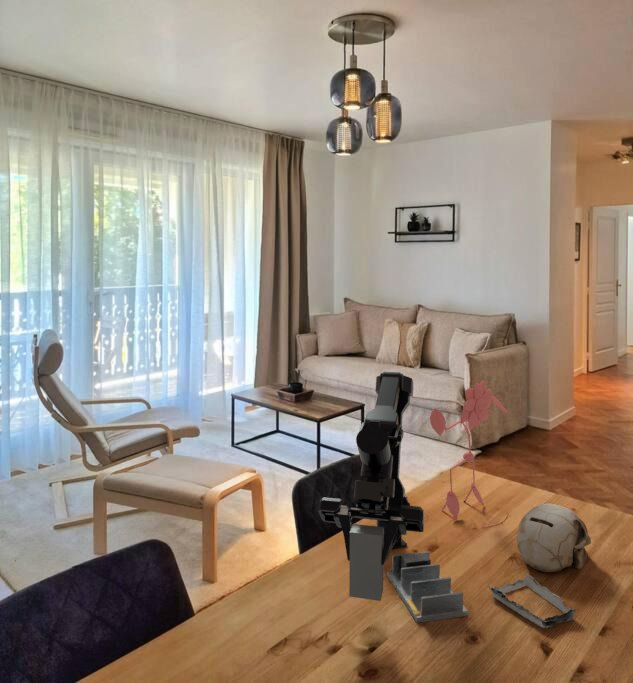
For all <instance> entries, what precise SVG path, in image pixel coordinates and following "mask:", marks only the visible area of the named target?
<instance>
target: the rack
mask: <svg viewBox="0 0 633 683" xmlns="http://www.w3.org/2000/svg"><path fill="white" fill-rule="evenodd" d="M430 555H431V554H430V551H429V550H428V551H420V552H419V551H418V552H412V553H411V552H409V553H402V554H393V555H392V556H391V557H392V559H391V560H392V561H391V563H392V564H391V570H387V572H386V573H387V574H386V576H387V579H389V580H390V583H391V584H392V586H393V588H394V589H395V590H396V592H397V593H398V595H399V596H400V598H401V600H402V602H403V604H404V605H405V607H406V608H407V609H408V611H409V613H410V615H411V616H412V618H413V619H414V621H415V622H416V624H418V623H426V622H433V621H439V620H448V619H453V618H461V617H468V616H469V610H468V609H467V608H466V607H465V605H464V593H463V592H462V591H458V592H453V590H452V589H451V588H452V578H451V576H448V577H442V576H441V575H440V573H441V571H440V569H441V566H440V565H441V564H440V563H433V564H432V562H431V561H432V560H431V558H430Z"/></svg>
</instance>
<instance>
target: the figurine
mask: <svg viewBox="0 0 633 683" xmlns="http://www.w3.org/2000/svg"><path fill="white" fill-rule="evenodd" d="M464 394H465V395H464V396H465V398H466V401H465V402H464V404H463V406H462V412H461V415H460V419H459V421H457V422H454V423H452V424H451V425H450V426H448V427H446V426H447V425H446V417H445V415H444V414H443V413H442V411H440V410H438V408H437V407H433V410H432V411H431V412H430V415H429V416H430V417H429V423H430V426H431V428H432V429H433V431H434V432H435V433H436V434H437V435H438V436H440V437H441V435H442V434H443V433H444V431H448V430H449V429H452V428H453V427H455V426H457V425H459V424H460V423H461V424H462V426H463V428H464V430H465V432H466V434H467V437H468V438H467V439H468V440H467V441H468V451H465V452H464V453H463V455H462V458H463V460H461V462H459V463H458V464H456V465H454V466H452V467H450V469H449V481H450V485H449V486H450V490H449V491H447V493H446V497H445V500H446V501H445V503H444V505H443V506H442V507H441V511H442V512H444V511H445V508H446V507H447V509H448V512H449V513H450V514H451V516H452V517H453V518H454V520H457V519H458V518H459V513H460V503H459V499H458V497H457V495H456V493H455V492H453V483H452V482H453V479H452V478H453V477H452V470H454V469H455V468H457V467H458V466H460V465H462V464H463V463H465V462H467V463H471V462H472V475H473V476H472V477H473V478H472V480H473V482H470V489H469V491H468V493H466V496H465V497H464V500H463V501H465V502H466V501H467V500H468V498H469V497H470V495H471V493H472V492H473V495H474V496H475V498H476V500H477V501H478V502H479V503H480V505H482V506H485V503H484V501H483V498H482V496H481V494H480V491H479V490H478V488H477V487H476V485H475V455H474V453H473V452H472V450H471V449H472V447H471V444H472V443H471V434H470V432H469V431H471V430H473V429H474V428H476V429H478V428H479V427H480V425H481V421H483V422H484V421H487V420H488V419H489V417H490V413H489V410H488V409H489V407H490V406H491V404H492V402H493V404H494V405H495V406H496V407H497V408H498V409H499V410H501V411H502V413H505V414H508V413H509V412H508V411H507V409H506V407H504V405H503V404H502V402H501V401H500V400H499V399H498V398H497V397H496V396H495V395H493V390H492V389H491V388H489V389H487V384H486V380H482V381H481V382H480V383H479V382H476V383H475V384H474V388H473V387H469V388H467V389H466V390H465V392H464ZM465 423H467V424H468V425H467V426H468V428H467V426H466V424H465ZM468 429H469V430H468ZM504 508H505V510H506V512H508V511H507V510H508V509H506V507H504ZM424 516H427V517H429V515H427V514H426V513H424ZM507 518H508V516H506V517H505V519H504V521H506V519H507ZM503 523H504V522H503V521H501V522H499V523H496V524H494V525H489V526H488V528H492V527H495V526H498V525H503ZM483 528H484V529H485V528H486V526H482V529H483Z"/></svg>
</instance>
